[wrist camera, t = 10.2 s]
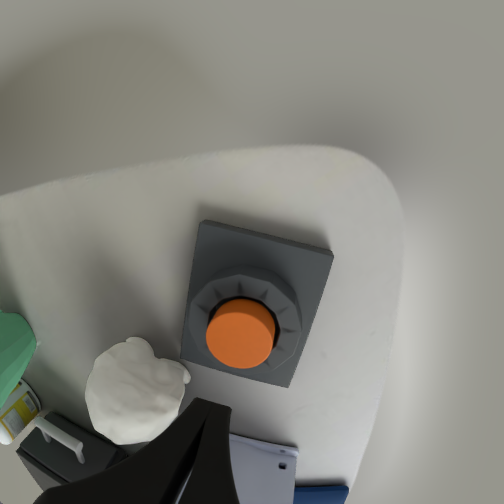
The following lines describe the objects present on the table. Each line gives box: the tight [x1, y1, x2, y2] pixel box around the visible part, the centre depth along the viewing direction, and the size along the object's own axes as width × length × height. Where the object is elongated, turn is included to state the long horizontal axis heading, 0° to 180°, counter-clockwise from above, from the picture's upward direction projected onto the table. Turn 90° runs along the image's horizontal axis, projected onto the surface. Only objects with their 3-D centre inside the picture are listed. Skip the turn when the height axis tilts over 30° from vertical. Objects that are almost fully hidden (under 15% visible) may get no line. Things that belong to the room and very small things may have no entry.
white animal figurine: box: [85, 337, 191, 445], centre depth 19 cm, size 6×8×12 cm
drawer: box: [20, 412, 118, 483], centre depth 24 cm, size 17×10×7 cm, turn 168°
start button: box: [206, 299, 275, 368], centre depth 16 cm, size 4×4×2 cm
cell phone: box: [293, 485, 349, 504], centre depth 25 cm, size 7×14×1 cm, turn 94°
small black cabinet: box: [16, 411, 127, 491], centre depth 25 cm, size 14×12×9 cm
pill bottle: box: [0, 378, 41, 444], centre depth 23 cm, size 6×6×12 cm
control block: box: [180, 220, 334, 388], centre depth 18 cm, size 8×10×3 cm
